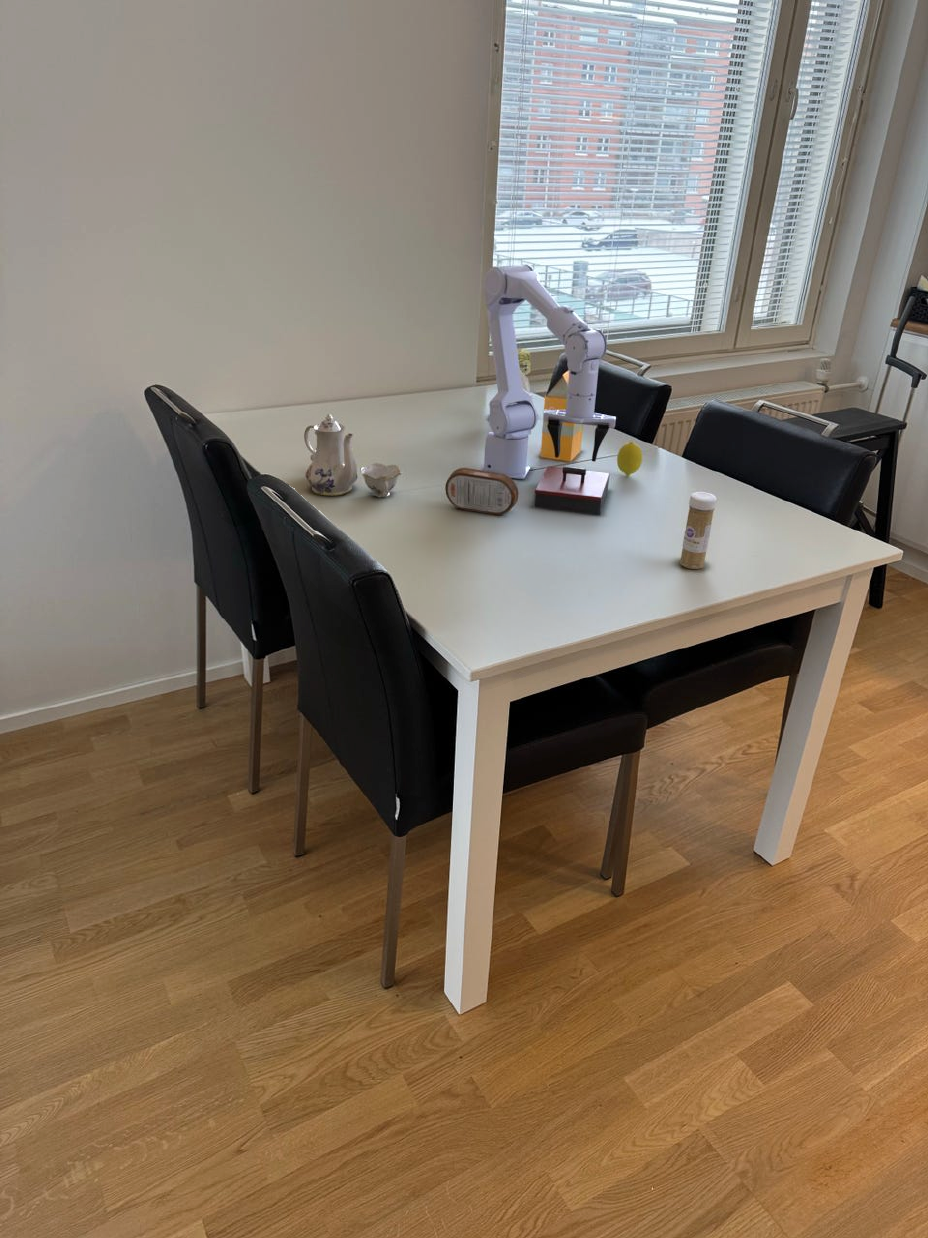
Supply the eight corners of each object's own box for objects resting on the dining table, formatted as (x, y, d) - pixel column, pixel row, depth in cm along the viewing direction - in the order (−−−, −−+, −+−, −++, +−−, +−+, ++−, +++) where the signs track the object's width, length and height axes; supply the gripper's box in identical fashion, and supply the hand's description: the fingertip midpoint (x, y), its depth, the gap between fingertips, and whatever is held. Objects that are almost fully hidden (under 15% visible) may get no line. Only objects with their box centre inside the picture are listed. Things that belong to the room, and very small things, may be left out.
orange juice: (539, 457, 218) (546, 372, 209) (550, 446, 225) (557, 364, 216) (571, 462, 216) (579, 377, 206) (581, 451, 223) (589, 368, 213)
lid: (600, 501, 184) (602, 483, 183) (534, 493, 187) (535, 475, 185) (609, 476, 198) (611, 459, 196) (547, 469, 200) (548, 452, 199)
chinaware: (415, 501, 194) (421, 423, 188) (355, 513, 183) (360, 431, 176) (330, 468, 211) (333, 396, 204) (270, 478, 199) (272, 401, 192)
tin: (517, 513, 186) (520, 474, 182) (513, 519, 183) (515, 479, 179) (448, 502, 190) (449, 464, 186) (443, 508, 187) (443, 468, 183)
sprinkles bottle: (674, 564, 167) (685, 495, 160) (686, 557, 170) (698, 489, 163) (697, 572, 164) (709, 502, 158) (709, 564, 167) (721, 495, 161)
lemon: (639, 480, 206) (643, 446, 202) (614, 478, 207) (618, 444, 203) (640, 472, 211) (644, 439, 207) (615, 470, 211) (619, 436, 208)
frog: (546, 418, 247) (552, 349, 238) (518, 427, 238) (523, 356, 230) (511, 409, 254) (516, 341, 245) (482, 418, 245) (486, 348, 236)
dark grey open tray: (599, 515, 187) (601, 500, 185) (534, 507, 190) (535, 492, 188) (607, 491, 199) (609, 476, 198) (546, 483, 202) (547, 469, 200)
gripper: (542, 394, 181) (537, 459, 188) (615, 401, 178) (608, 467, 185) (548, 385, 187) (543, 449, 194) (619, 392, 184) (612, 457, 191)
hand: (575, 457), depth 189 cm, fingers open, 7 cm apart
